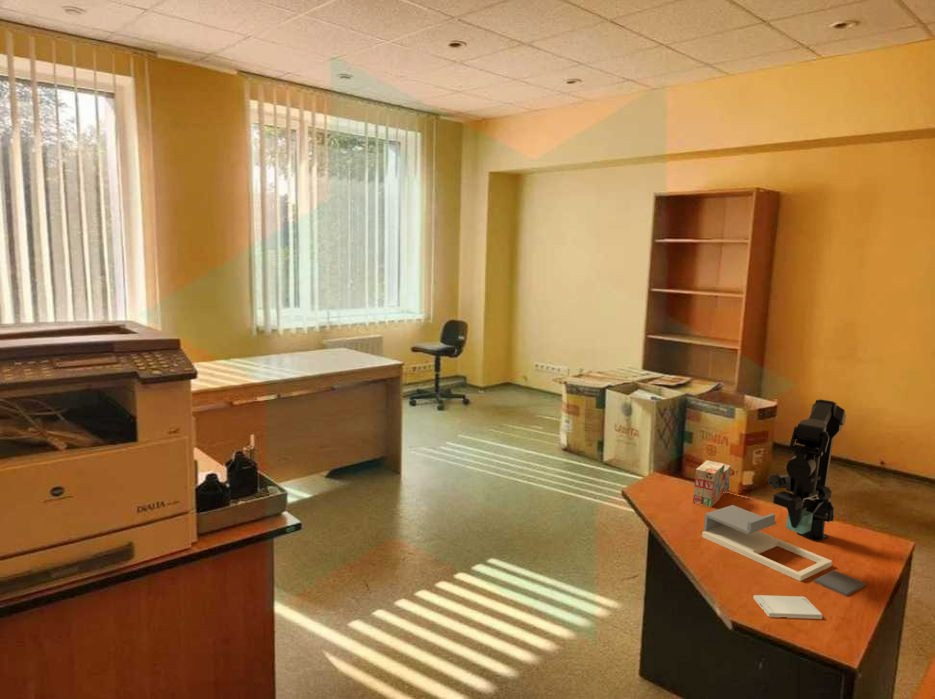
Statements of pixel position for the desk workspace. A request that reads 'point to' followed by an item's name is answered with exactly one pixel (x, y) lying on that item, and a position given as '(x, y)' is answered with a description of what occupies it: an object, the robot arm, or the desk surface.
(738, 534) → the white flat frame
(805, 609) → the hard drive
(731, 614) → the desk surface
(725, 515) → the cover
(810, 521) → the block
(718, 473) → the stack of blocks
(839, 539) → the desk surface
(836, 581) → the mat
